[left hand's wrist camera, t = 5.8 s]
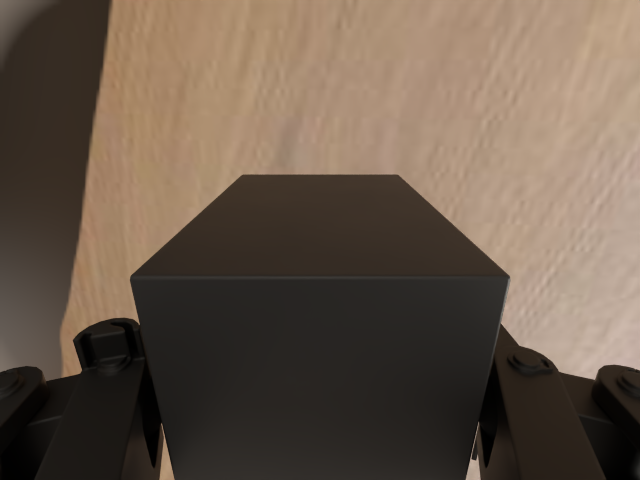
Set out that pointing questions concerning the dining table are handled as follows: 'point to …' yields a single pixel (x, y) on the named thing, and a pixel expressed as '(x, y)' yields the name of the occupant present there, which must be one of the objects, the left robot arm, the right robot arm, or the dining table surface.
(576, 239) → the dining table surface
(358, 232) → the box
